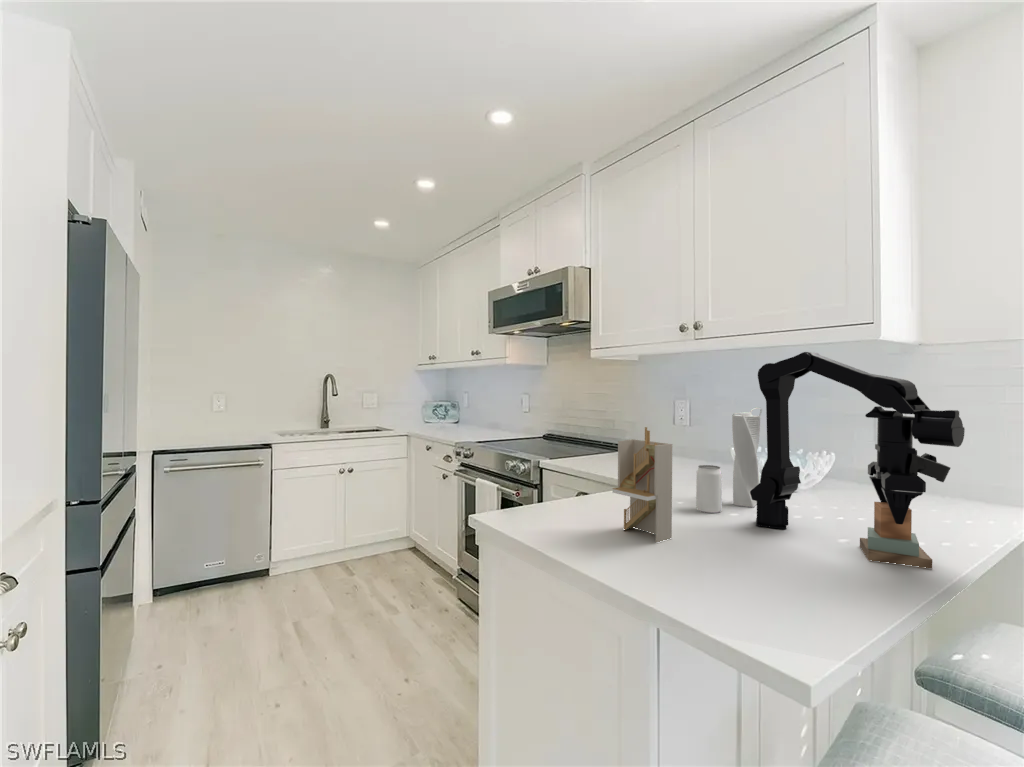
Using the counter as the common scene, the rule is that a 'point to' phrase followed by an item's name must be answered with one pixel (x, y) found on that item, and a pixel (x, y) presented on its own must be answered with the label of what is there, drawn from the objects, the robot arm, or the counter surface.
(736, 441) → the skyscraper
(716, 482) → the can
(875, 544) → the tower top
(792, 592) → the counter surface
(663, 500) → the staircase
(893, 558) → the tower base
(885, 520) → the block
